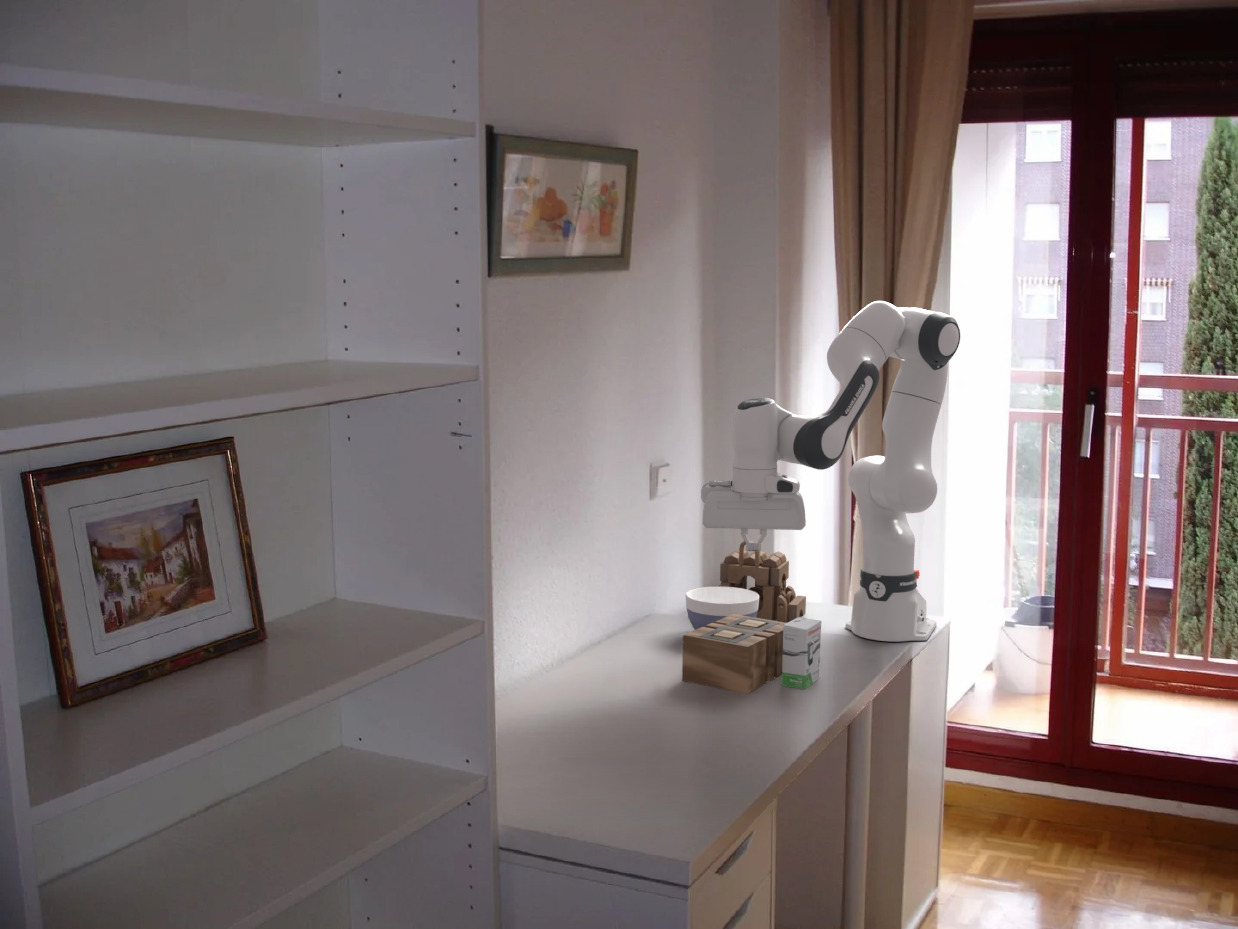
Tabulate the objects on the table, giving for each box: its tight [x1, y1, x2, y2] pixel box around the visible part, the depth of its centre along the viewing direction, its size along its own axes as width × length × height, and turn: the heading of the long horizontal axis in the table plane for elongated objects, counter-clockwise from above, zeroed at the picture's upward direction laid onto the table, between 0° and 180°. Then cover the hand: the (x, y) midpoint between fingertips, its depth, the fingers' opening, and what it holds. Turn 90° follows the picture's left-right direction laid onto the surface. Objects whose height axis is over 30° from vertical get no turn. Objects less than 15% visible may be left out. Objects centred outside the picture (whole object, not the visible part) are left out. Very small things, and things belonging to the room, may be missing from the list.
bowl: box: [685, 586, 759, 630], centre depth 266 cm, size 16×16×10 cm
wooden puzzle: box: [717, 539, 807, 623], centre depth 286 cm, size 22×15×19 cm, turn 69°
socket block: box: [681, 614, 786, 695], centre depth 239 cm, size 20×14×9 cm
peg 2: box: [739, 620, 766, 629], centre depth 243 cm, size 4×4×9 cm
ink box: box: [781, 616, 822, 690], centre depth 234 cm, size 9×5×12 cm, turn 151°
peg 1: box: [713, 630, 742, 640], centre depth 235 cm, size 4×4×9 cm
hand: (753, 550), depth 241 cm, fingers closed
